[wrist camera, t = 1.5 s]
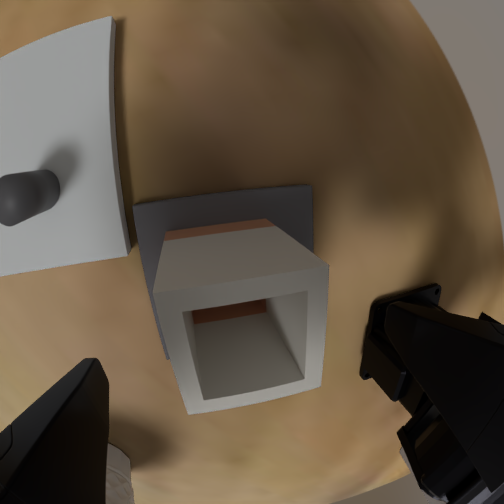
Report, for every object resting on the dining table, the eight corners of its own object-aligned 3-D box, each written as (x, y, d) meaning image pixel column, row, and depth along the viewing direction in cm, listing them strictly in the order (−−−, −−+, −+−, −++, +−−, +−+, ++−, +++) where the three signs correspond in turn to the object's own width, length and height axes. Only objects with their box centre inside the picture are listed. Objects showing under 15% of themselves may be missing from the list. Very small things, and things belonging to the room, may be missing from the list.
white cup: (32, 427, 14) (8, 523, 5) (108, 425, 15) (99, 549, 6) (82, 475, 17) (77, 558, 8) (153, 473, 18) (162, 569, 9)
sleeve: (265, 218, 13) (328, 264, 7) (270, 305, 14) (320, 386, 9) (166, 231, 12) (152, 293, 6) (182, 319, 13) (188, 414, 8)
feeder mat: (306, 184, 13) (312, 185, 13) (307, 327, 16) (311, 333, 15) (134, 204, 12) (132, 206, 11) (167, 352, 14) (166, 359, 14)
